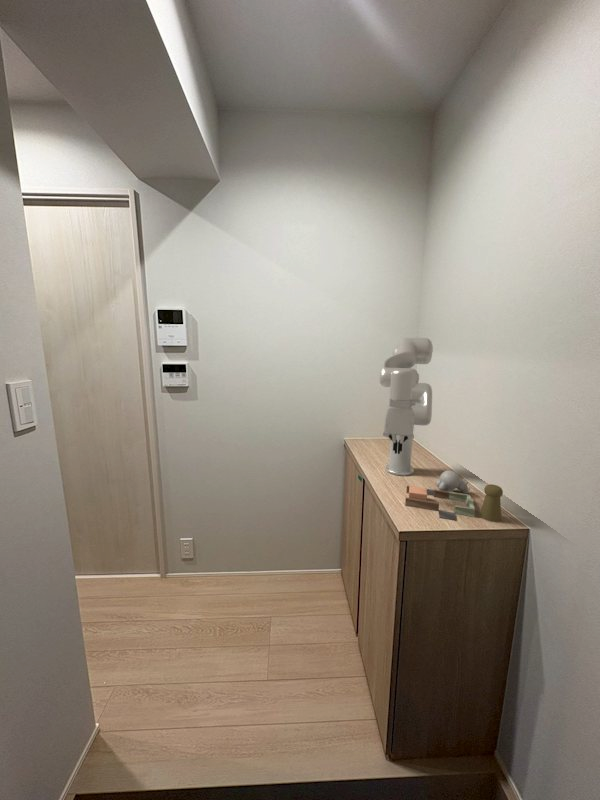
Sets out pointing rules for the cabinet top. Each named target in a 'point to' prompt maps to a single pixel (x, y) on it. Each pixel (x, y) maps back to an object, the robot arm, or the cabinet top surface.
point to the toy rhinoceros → (452, 482)
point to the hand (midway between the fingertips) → (397, 452)
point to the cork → (492, 503)
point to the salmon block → (418, 493)
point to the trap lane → (446, 495)
